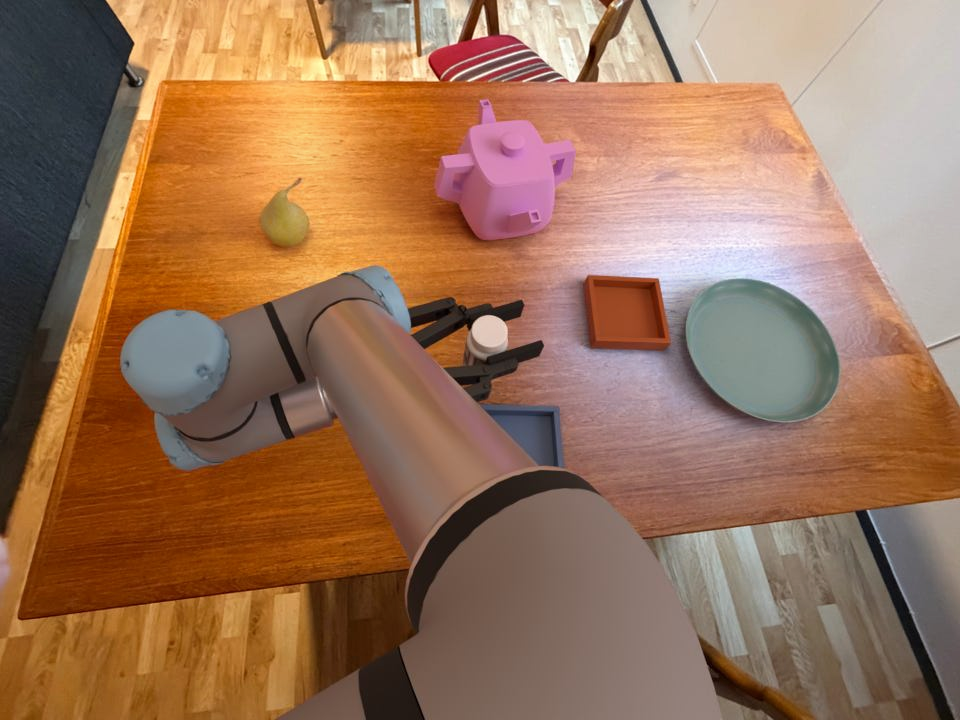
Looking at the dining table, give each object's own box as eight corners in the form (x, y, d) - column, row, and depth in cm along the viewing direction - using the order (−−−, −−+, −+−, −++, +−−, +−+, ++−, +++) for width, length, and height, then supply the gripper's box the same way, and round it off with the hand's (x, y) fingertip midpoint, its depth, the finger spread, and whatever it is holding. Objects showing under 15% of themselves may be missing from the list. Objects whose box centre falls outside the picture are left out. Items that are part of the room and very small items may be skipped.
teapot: (474, 152, 98) (484, 77, 84) (567, 194, 96) (593, 123, 82) (423, 226, 89) (425, 156, 76) (524, 273, 88) (544, 209, 74)
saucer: (718, 445, 78) (730, 438, 75) (652, 303, 88) (660, 292, 85) (856, 409, 83) (872, 401, 80) (779, 278, 93) (791, 267, 90)
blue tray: (561, 494, 73) (566, 490, 70) (474, 494, 71) (476, 490, 69) (554, 412, 78) (558, 405, 75) (473, 410, 76) (474, 404, 74)
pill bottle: (508, 363, 67) (520, 330, 59) (483, 389, 65) (492, 358, 57) (479, 339, 68) (487, 304, 60) (453, 364, 66) (459, 331, 58)
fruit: (262, 226, 86) (240, 169, 75) (310, 215, 88) (295, 158, 77) (271, 259, 83) (250, 205, 73) (320, 248, 85) (307, 194, 75)
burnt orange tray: (664, 350, 84) (671, 343, 82) (590, 348, 83) (595, 340, 80) (652, 287, 89) (658, 278, 87) (583, 283, 88) (587, 274, 85)
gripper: (311, 334, 63) (496, 283, 69) (355, 478, 57) (555, 408, 62) (299, 300, 57) (505, 246, 62) (347, 459, 50) (572, 382, 56)
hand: (530, 328), depth 62 cm, fingers closed on pill bottle, 5 cm apart
